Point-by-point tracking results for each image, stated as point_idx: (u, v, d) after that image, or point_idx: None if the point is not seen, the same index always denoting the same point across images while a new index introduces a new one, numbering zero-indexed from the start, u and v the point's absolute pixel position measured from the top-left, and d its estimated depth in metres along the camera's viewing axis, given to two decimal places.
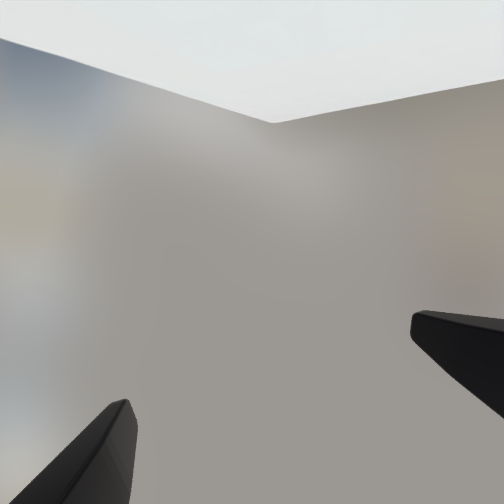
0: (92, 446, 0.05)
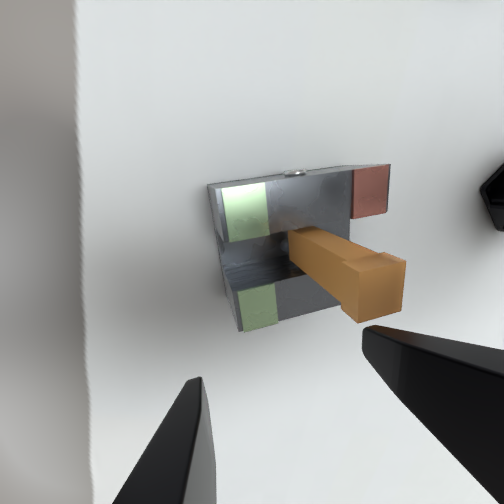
0: (192, 413, 0.05)
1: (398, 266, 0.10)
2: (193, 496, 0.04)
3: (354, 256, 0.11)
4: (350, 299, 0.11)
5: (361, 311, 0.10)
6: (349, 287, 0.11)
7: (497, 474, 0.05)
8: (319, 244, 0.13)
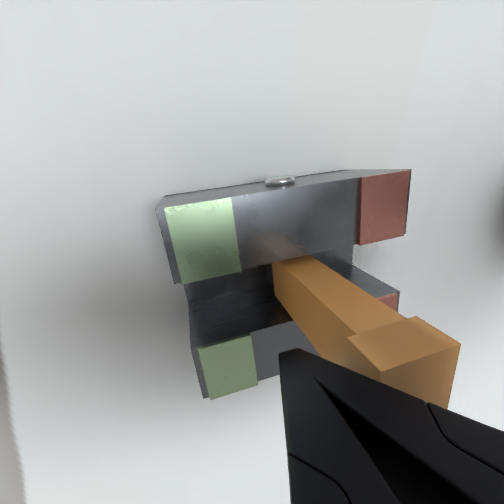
0: (308, 376, 0.06)
1: (447, 353, 0.06)
2: None
3: (367, 324, 0.07)
4: None
5: None
6: None
7: None
8: (311, 291, 0.09)
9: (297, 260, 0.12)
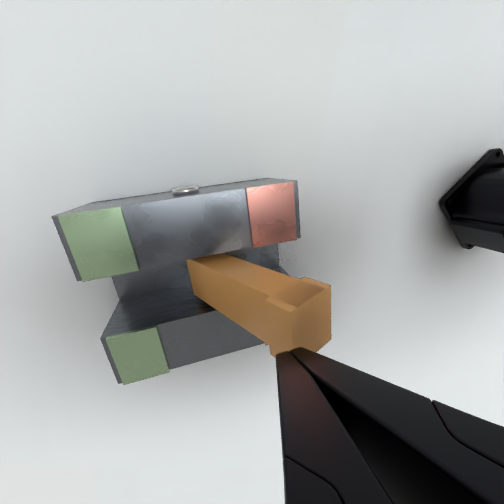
0: (305, 377, 0.06)
1: (324, 293, 0.09)
2: None
3: (275, 288, 0.09)
4: (281, 343, 0.09)
5: None
6: (278, 329, 0.08)
7: None
8: (230, 276, 0.11)
9: (211, 257, 0.13)
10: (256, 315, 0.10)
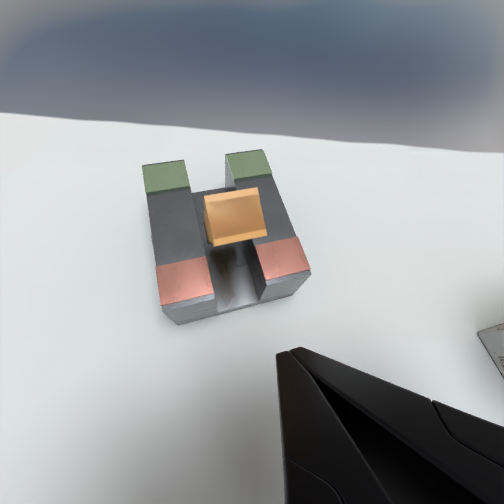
0: (305, 377, 0.06)
1: (261, 228, 0.11)
2: None
3: None
4: None
5: (217, 197, 0.11)
6: None
7: None
8: None
9: None
10: None
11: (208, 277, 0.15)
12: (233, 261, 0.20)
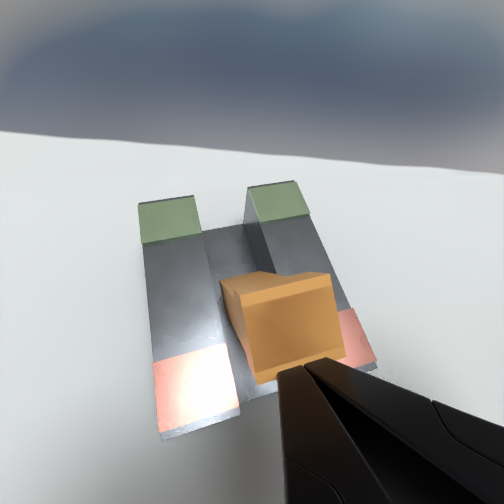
0: (305, 377, 0.06)
1: (337, 345, 0.06)
2: None
3: None
4: (269, 284, 0.07)
5: (262, 297, 0.06)
6: (287, 279, 0.07)
7: None
8: (284, 276, 0.10)
9: None
10: None
11: (230, 379, 0.10)
12: None
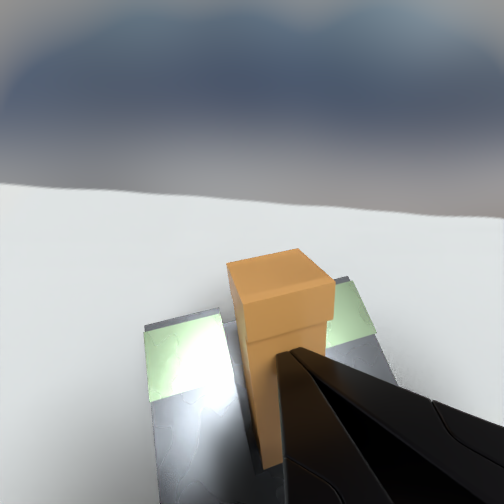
0: (305, 377, 0.06)
1: (322, 277, 0.06)
2: None
3: None
4: None
5: (244, 262, 0.08)
6: None
7: None
8: None
9: None
10: None
11: None
12: None
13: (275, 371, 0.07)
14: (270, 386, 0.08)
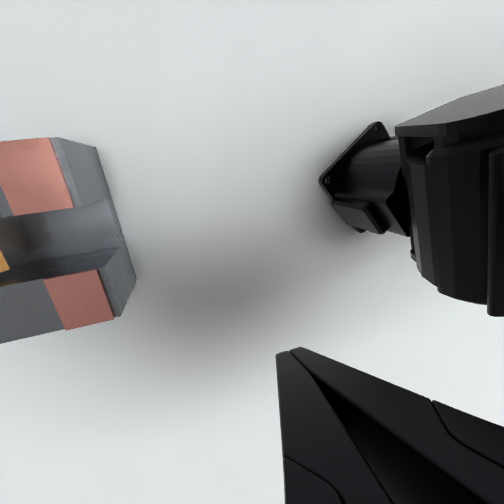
0: (305, 377, 0.06)
1: None
2: None
3: None
4: None
5: None
6: None
7: None
8: None
9: None
10: None
11: (75, 275, 0.12)
12: (48, 224, 0.15)
13: None
14: None
